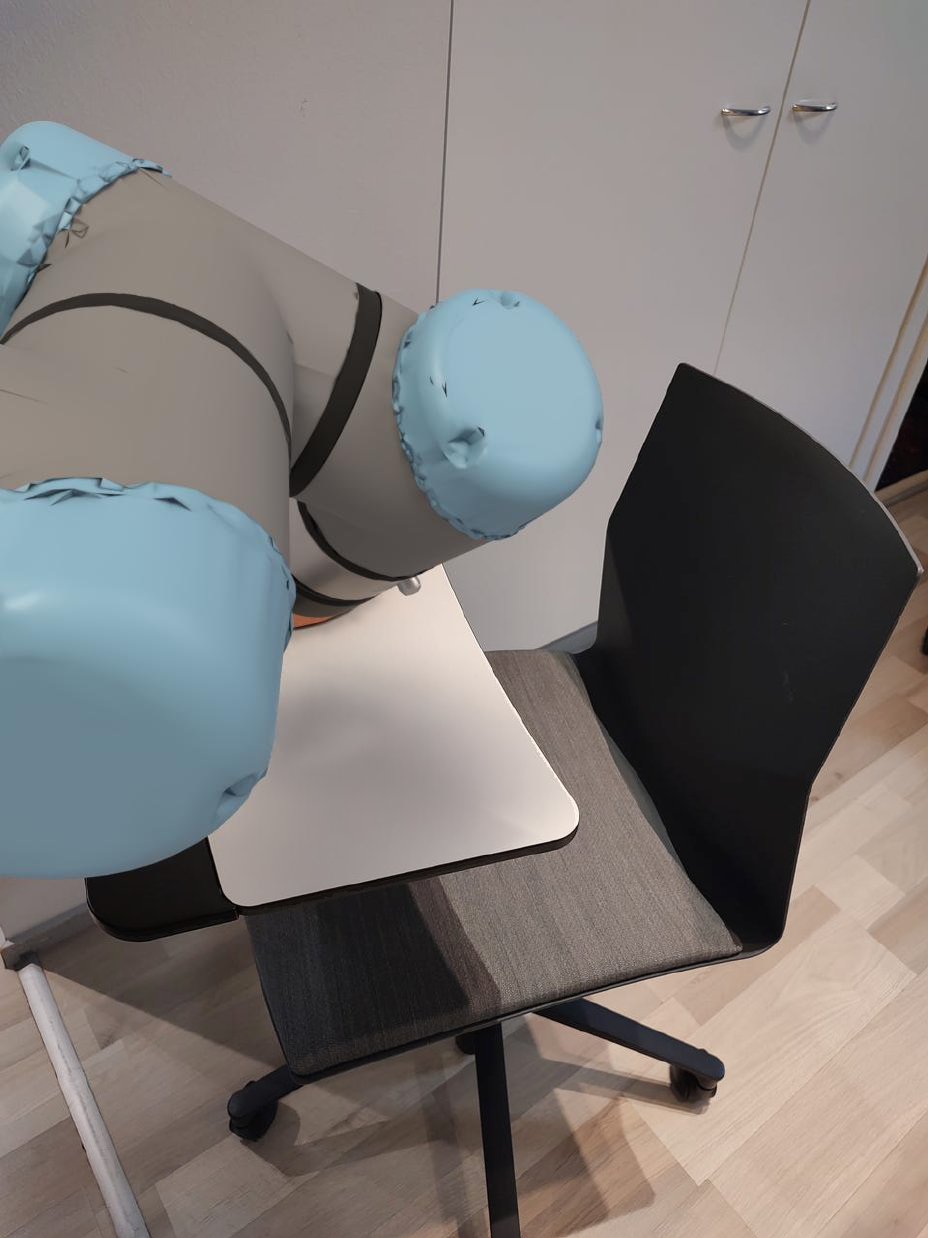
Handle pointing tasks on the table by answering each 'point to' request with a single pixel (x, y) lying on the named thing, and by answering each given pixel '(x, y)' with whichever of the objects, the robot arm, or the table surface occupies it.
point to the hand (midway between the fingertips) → (205, 618)
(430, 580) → the table surface
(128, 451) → the robot arm
